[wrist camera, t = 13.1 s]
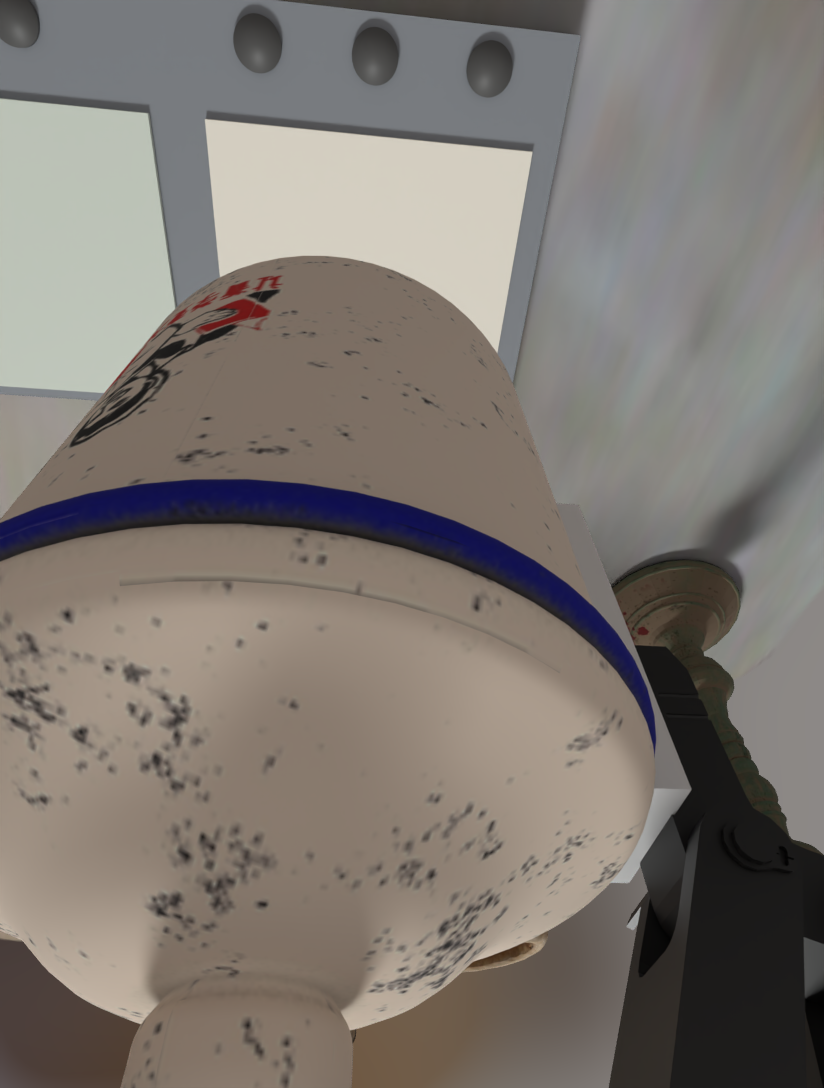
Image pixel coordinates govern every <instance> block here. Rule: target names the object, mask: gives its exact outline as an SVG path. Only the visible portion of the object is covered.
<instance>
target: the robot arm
mask: <svg viewBox="0 0 824 1088" xmlns="http://www.w3.org/2000/svg"><path fill="white" fill-rule="evenodd" d="M556 505H557V508H558V511H559V513H560V516H561V519H562V522H563V524H564V527H565V530H566V533H567V535H568V538H569V541H570V544H571V547H572V549H573V552H574V555H575V558H576V560H577V563H578V566H579V569H580V572H581V574H582V577H583V580H584V583H585V585H586V588H587V591H588V594H589V596H590V599H591V602H592V605H593V607H595V608H596V609H597V610H598V612H599V613H600V614H601V615H602V616H603V617H604V618H605V620H606V621H607V622H608V623H609V624H610V625H611V627H612V628H613V629H614V630H615V631H616V632H617V633H618V635H619V637H620V638H621V640H622V641H623V643H624V644H625V646H626V647H627V649H628V650H629V652H630V654H631V655H632V657H633V658H634V660H635V662H636V664H637V666H638V668H639V671H640V673H641V675H642V677H643V679H644V682H645V684H646V686H647V689H648V693H649V696H650V700H651V704H652V708H653V712H654V716H655V729H656V747H655V758H654V759H655V771H656V774H655V784H654V793H653V797H652V802H651V806H650V809H649V813H648V816H647V820H646V823H645V827H644V830H643V833H642V835H641V837H640V839H639V841H638V843H637V845H636V847H635V849H634V851H633V853H632V854H631V856H630V858H629V859H628V860H627V862H626V863H625V865H624V866H623V868H622V869H621V871H620V872H619V873H618V875H617V876H616V877H615V878H614V879H613V880H612V881H611V882H610V883H629V882H630V881H631V879H632V878H633V876H634V875H635V873H636V872H637V870H638V869H639V867H640V866H641V869H642V872H643V875H644V879H645V882H646V885H647V889H648V892H647V894H646V895H645V897H644V898H643V899H642V901H641V902H640V903H639V905H638V906H637V908H636V909H635V911H634V912H633V913H632V914H631V917H630V919H629V921H628V924H627V926H626V927H628V928H630V929H632V930H634V928H635V927H636V926H637V924H638V927H637V932H636V937H635V943H634V949H633V954H632V960H631V965H630V971H629V977H628V983H627V988H626V994H625V999H624V1005H623V1011H622V1016H621V1022H620V1027H619V1033H618V1039H617V1045H616V1050H615V1056H614V1061H613V1066H612V1072H611V1078H610V1083H609V1088H824V855H822V854H819V853H816V852H813V851H810V850H807V849H805V848H803V847H800V846H798V845H796V844H794V843H792V842H791V840H790V838H789V837H788V835H787V834H786V833H785V832H784V831H783V830H782V829H781V828H780V827H779V826H778V825H777V824H776V823H775V822H774V821H773V820H772V819H771V818H769V817H768V816H766V815H764V814H763V813H761V812H759V811H758V810H756V809H754V808H753V807H752V805H751V803H750V802H749V800H748V798H747V796H746V794H745V792H744V790H743V788H742V786H741V784H740V782H739V779H738V777H737V775H736V773H735V771H734V769H733V767H732V764H731V762H730V760H729V758H728V756H727V754H726V751H725V749H724V747H723V745H722V743H721V741H720V739H719V736H718V734H717V732H716V730H715V728H714V726H713V724H712V721H711V720H709V719H708V713H707V711H706V709H705V706H704V704H703V702H702V700H701V699H699V697H698V695H699V694H698V691H697V689H696V687H695V685H694V683H693V681H692V678H691V676H690V674H689V672H688V670H687V668H686V667H685V666H684V665H683V664H682V663H681V662H680V661H679V660H678V659H677V658H676V657H675V656H674V655H673V654H672V653H671V651H670V650H669V649H668V648H667V647H664V646H643V645H634V643H633V641H632V638H631V635H630V633H629V630H628V628H627V625H626V623H625V620H624V618H623V615H622V613H621V610H620V608H619V605H618V603H617V600H616V598H615V595H614V593H613V590H612V588H611V585H610V582H609V580H608V577H607V575H606V572H605V570H604V567H603V565H602V562H601V560H600V557H599V555H598V552H597V550H596V547H595V545H594V542H593V540H592V537H591V535H590V532H589V530H588V527H587V524H586V522H585V519H584V517H583V514H582V512H581V509H580V507H579V505H578V504H562V503H556Z"/></svg>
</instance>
